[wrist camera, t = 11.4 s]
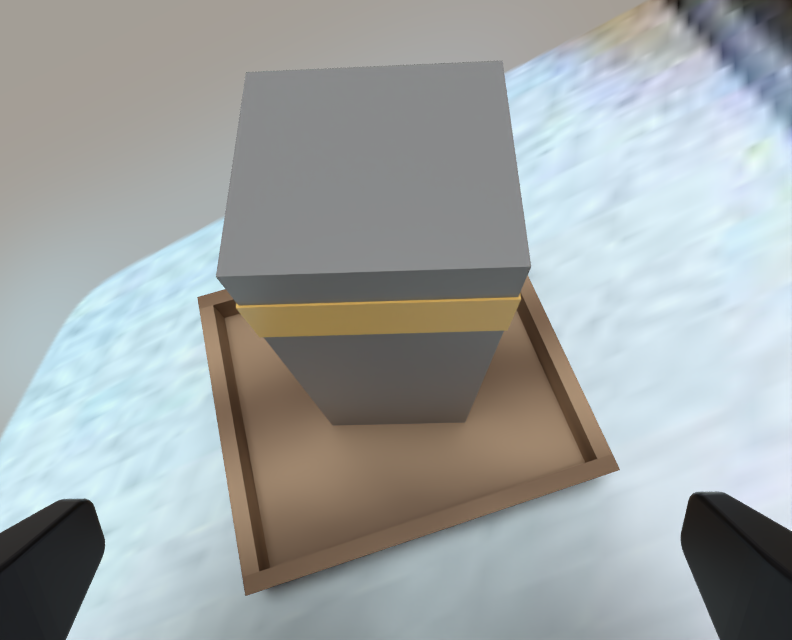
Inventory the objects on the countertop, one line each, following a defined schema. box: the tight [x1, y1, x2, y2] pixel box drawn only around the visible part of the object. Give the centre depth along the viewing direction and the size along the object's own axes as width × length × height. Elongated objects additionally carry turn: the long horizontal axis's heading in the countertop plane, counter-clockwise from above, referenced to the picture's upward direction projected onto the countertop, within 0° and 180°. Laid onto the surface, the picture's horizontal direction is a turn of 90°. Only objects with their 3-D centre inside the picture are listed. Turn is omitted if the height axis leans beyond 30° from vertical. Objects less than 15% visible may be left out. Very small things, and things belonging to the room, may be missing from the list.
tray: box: [197, 275, 620, 596], centre depth 21 cm, size 12×14×2 cm
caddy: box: [216, 61, 531, 425], centre depth 16 cm, size 5×6×13 cm
